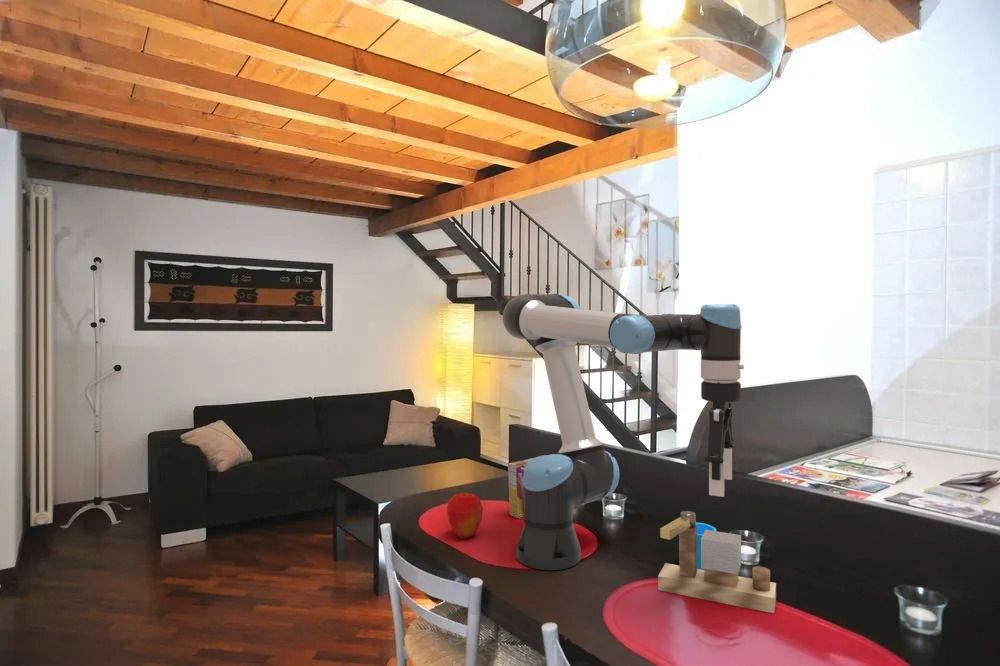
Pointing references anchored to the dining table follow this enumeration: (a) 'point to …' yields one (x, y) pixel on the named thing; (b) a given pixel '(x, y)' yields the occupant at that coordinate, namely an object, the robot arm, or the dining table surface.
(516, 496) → the candy box
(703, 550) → the gray rectangular block
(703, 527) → the mug
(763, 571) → the wooden base with post
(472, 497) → the apple
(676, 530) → the lever
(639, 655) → the dining table surface
